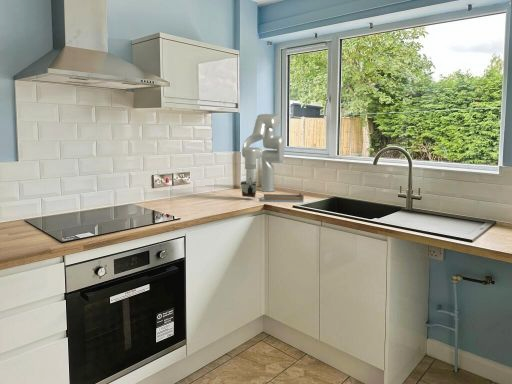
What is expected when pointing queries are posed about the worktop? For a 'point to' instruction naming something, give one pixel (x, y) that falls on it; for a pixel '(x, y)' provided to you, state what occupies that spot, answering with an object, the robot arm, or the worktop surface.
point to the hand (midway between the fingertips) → (250, 192)
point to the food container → (245, 189)
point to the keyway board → (282, 198)
